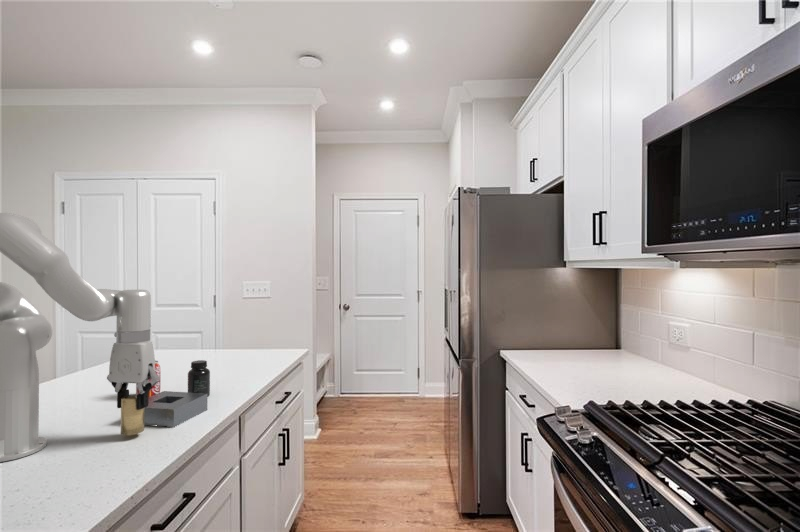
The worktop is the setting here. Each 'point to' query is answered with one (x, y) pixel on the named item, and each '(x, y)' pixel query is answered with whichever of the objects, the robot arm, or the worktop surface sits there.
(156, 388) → the soda can
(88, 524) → the worktop surface
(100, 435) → the worktop surface
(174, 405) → the housing
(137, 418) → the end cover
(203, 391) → the supplement bottle
